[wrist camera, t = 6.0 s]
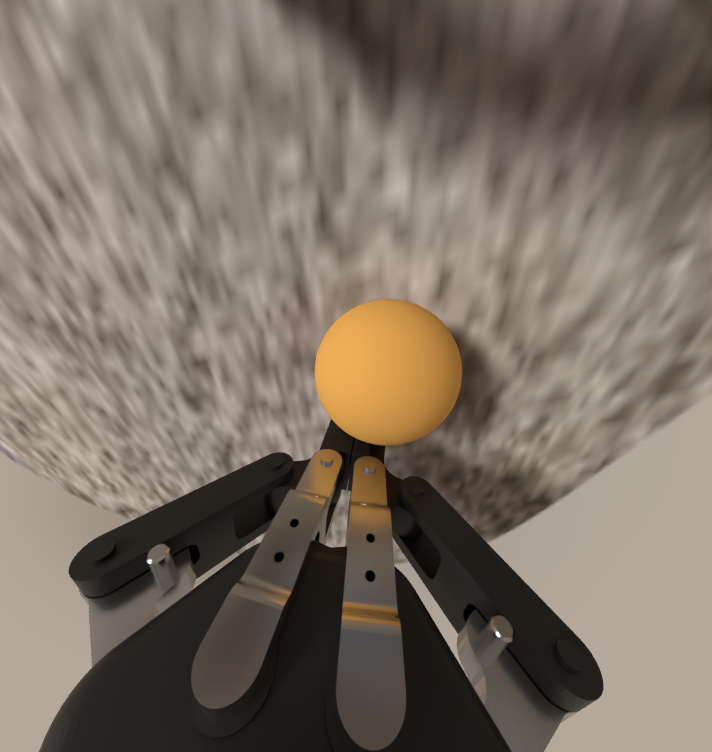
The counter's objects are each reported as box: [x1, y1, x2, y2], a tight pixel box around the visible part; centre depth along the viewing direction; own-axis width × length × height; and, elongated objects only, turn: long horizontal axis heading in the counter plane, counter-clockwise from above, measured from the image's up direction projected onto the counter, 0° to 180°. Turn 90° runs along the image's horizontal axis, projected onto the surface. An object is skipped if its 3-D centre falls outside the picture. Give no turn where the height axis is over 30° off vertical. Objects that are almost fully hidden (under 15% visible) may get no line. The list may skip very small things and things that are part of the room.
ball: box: [315, 299, 462, 446], centre depth 11 cm, size 6×6×6 cm
